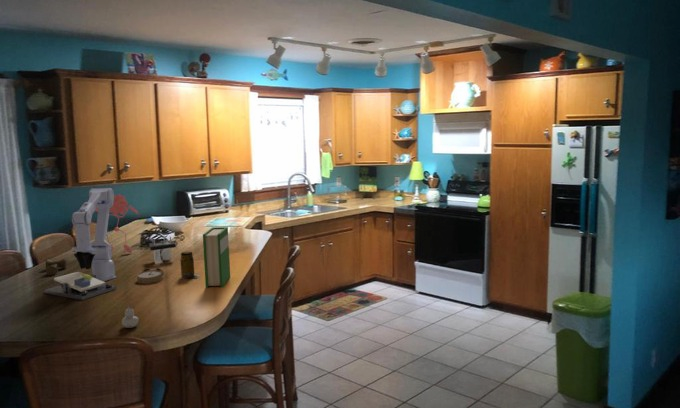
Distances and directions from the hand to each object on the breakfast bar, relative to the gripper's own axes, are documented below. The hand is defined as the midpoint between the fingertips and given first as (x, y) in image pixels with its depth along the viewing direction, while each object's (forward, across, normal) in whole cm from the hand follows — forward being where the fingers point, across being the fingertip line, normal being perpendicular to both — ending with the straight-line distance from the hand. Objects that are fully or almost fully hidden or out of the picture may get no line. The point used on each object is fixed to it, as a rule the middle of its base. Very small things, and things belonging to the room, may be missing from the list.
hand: (85, 268), depth 238 cm
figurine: (+10, -48, +58) cm, 76 cm away
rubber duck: (+10, +57, -26) cm, 63 cm away
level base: (+9, 0, -4) cm, 10 cm away
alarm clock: (+10, +14, +24) cm, 29 cm away
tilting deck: (+5, 0, -4) cm, 6 cm away
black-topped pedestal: (+10, -8, +52) cm, 54 cm away
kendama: (+10, -46, +16) cm, 49 cm away
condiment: (+10, +28, +34) cm, 45 cm away
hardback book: (+10, +47, +33) cm, 58 cm away
